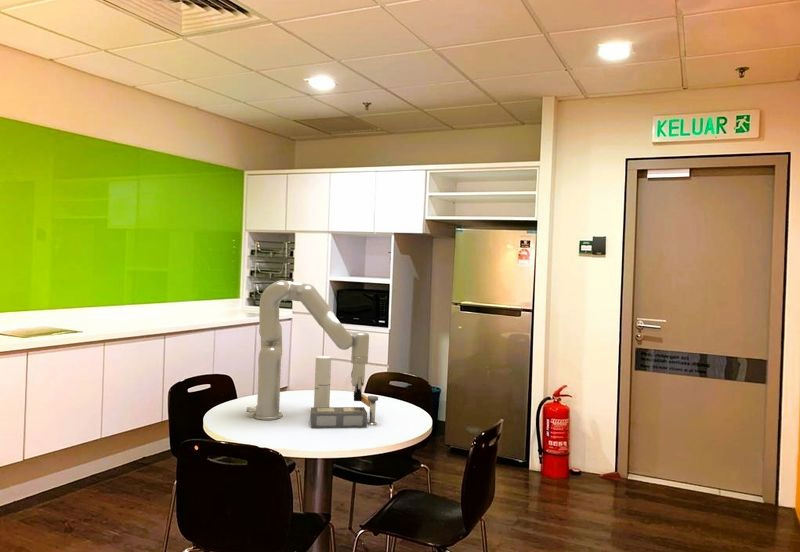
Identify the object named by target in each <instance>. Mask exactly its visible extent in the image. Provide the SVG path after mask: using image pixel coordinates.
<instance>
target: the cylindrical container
mask: <svg viewBox="0 0 800 552" xmlns="http://www.w3.org/2000/svg"><path fill="white" fill-rule="evenodd" d="M314 367H315V369H314V371H315V373H314V393H313V398H314V399H313V407H330V403H331V401H330V400H331V379H332V378H331V377H332V376H331V375H332V373H331V372H332V356H328V355H318V356H315V366H314Z"/></svg>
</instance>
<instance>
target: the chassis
mask: <svg viewBox="0 0 800 552" xmlns="http://www.w3.org/2000/svg"><path fill="white" fill-rule="evenodd" d="M367 422H368V411H367V410H366V408H365V407H363V406H361V407H360V406H359V407H358V406H356V407H355V406H353V407H351V406H349V407H347V406H345V407H339V406H337V407H334V406H333V407H330V406H329V407H314V406H313V407H310V427H311V429H337V428H338V429H343V428H345V429H347V428H349V429H350V428H351V429H353V428H356V429H357V428H368V424H367Z"/></svg>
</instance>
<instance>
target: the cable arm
mask: <svg viewBox="0 0 800 552" xmlns="http://www.w3.org/2000/svg"><path fill="white" fill-rule="evenodd" d="M354 392H355V390H353V393H354ZM370 401H376V402H377V401H379V396H376V395H365V394H363V393H362V396H361V401H360V402H361V403H363V404H364V405H365V406H367V407H368V408H370Z"/></svg>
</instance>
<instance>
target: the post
mask: <svg viewBox="0 0 800 552" xmlns="http://www.w3.org/2000/svg"><path fill="white" fill-rule="evenodd" d="M376 402H377V401H370V407H369V417H368V419H369V420H368V421H367V426H376V425H377V424H378V423H377V422H376V405H377V403H376Z"/></svg>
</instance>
